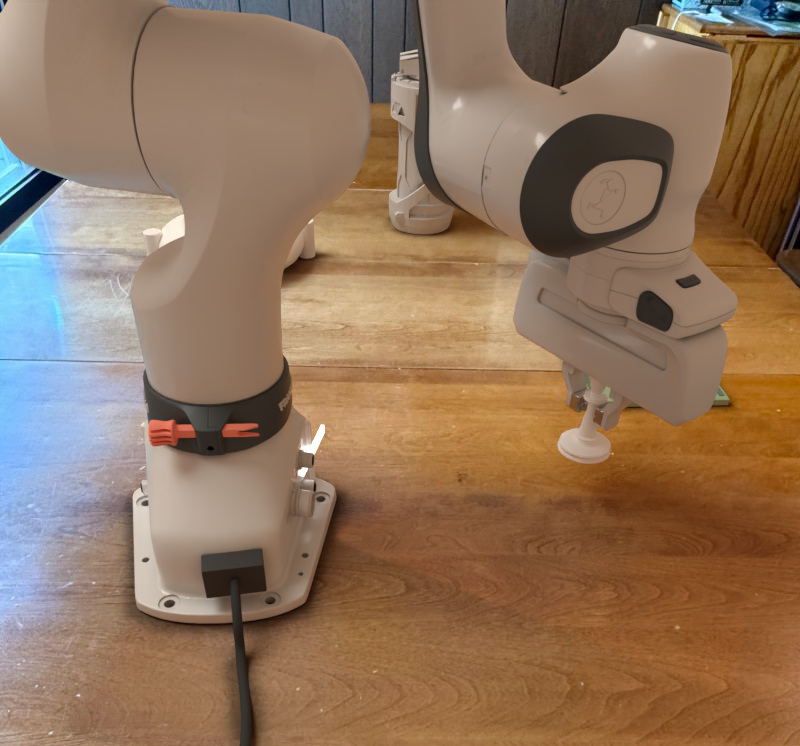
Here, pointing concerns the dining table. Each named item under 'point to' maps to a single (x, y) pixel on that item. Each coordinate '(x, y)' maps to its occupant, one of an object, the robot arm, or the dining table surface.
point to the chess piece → (587, 432)
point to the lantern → (412, 160)
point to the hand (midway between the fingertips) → (590, 416)
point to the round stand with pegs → (176, 229)
